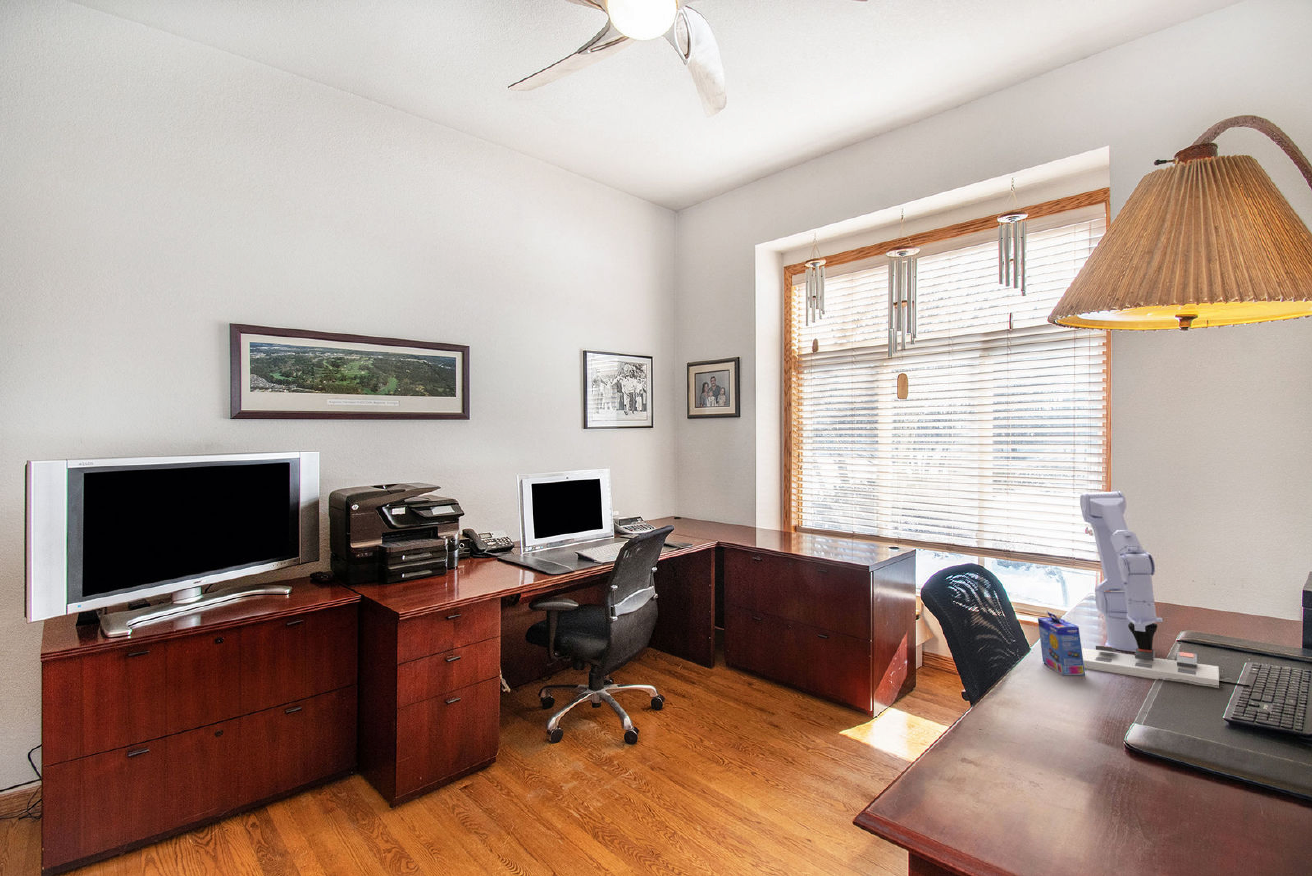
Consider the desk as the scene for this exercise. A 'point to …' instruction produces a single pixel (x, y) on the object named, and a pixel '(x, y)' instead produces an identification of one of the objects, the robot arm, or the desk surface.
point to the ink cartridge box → (1061, 645)
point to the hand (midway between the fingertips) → (1145, 652)
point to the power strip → (1148, 667)
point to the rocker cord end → (1187, 659)
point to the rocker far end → (1106, 648)
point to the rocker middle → (1144, 654)
